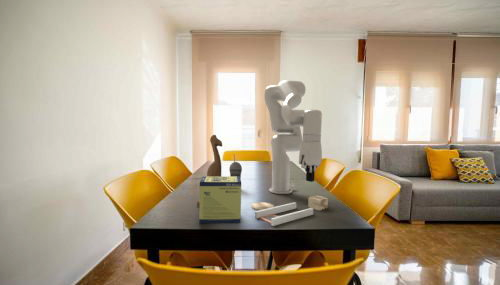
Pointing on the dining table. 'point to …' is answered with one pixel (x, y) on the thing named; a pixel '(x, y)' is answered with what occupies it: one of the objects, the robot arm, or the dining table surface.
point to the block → (318, 202)
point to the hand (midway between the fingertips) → (310, 180)
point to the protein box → (220, 200)
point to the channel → (284, 217)
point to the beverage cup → (235, 169)
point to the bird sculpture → (215, 167)
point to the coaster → (261, 206)
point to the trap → (268, 217)
